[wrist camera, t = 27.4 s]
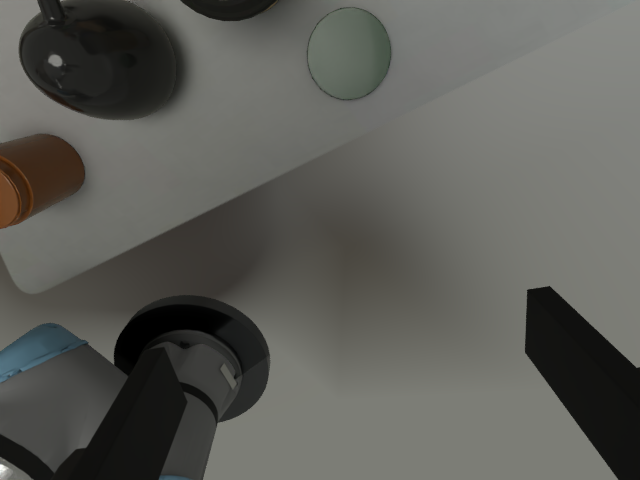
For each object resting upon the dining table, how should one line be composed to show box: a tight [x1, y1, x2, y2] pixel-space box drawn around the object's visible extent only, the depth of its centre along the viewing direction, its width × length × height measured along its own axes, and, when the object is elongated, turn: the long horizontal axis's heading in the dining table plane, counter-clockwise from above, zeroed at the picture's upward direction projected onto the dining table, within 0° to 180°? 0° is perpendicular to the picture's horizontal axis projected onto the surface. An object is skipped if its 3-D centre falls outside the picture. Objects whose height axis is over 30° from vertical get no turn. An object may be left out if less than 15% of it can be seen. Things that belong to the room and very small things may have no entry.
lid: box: [307, 7, 391, 100], centre depth 39 cm, size 8×8×2 cm
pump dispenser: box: [19, 0, 177, 120], centre depth 33 cm, size 10×10×15 cm
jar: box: [0, 134, 85, 229], centre depth 40 cm, size 7×7×11 cm
